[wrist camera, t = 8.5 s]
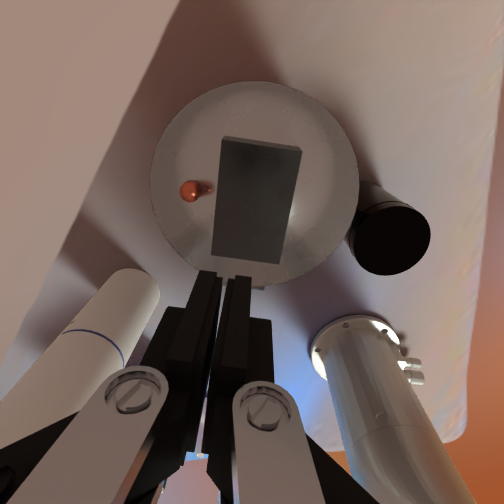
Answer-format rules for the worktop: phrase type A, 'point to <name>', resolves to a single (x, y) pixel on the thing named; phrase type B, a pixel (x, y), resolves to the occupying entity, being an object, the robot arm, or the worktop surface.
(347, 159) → the round plate
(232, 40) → the worktop surface
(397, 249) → the supplement container
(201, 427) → the garlic bulb
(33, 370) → the cylindrical container
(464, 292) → the worktop surface
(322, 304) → the worktop surface
